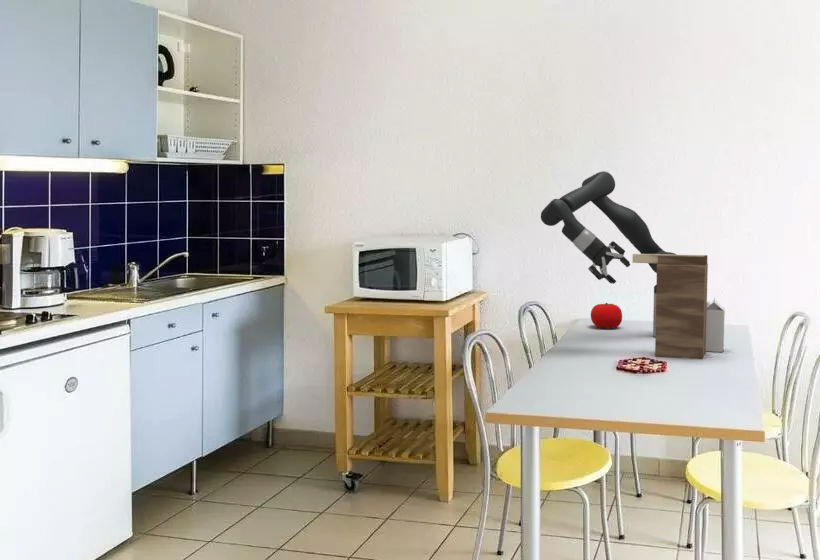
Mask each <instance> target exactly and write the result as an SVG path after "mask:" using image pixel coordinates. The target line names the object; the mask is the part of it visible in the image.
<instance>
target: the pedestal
mask: <svg viewBox="0 0 820 560" xmlns="http://www.w3.org/2000/svg"><path fill="white" fill-rule="evenodd" d="M703 255H704V256H658V265H657V273H656V282H655V283H656V284H655V285H656V335H655V337H654V338H655V343H654V344H655V347H654V357H662V358H678V359H693V360H694V359H697V360H703V359H704V357H705V355H706V354H707V351H706V318H707V302H708V274H709V273H708V271H709V270H708V269H709V264H708V255H706V254H703Z"/></svg>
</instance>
